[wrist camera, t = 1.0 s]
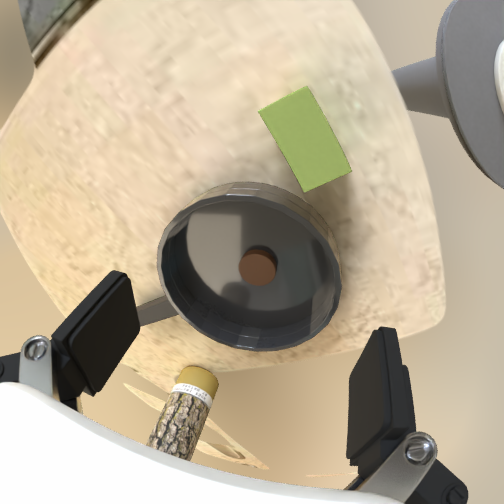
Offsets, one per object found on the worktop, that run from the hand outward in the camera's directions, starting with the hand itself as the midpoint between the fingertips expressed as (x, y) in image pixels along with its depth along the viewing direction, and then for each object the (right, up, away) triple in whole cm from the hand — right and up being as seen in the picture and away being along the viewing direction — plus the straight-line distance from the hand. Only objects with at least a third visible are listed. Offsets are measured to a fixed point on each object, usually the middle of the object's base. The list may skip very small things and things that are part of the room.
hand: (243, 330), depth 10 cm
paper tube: (-8, -18, +36) cm, 41 cm away
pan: (0, +1, +22) cm, 22 cm away
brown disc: (+1, +1, +21) cm, 21 cm away
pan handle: (-12, -5, +27) cm, 30 cm away
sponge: (+5, +13, +14) cm, 20 cm away
